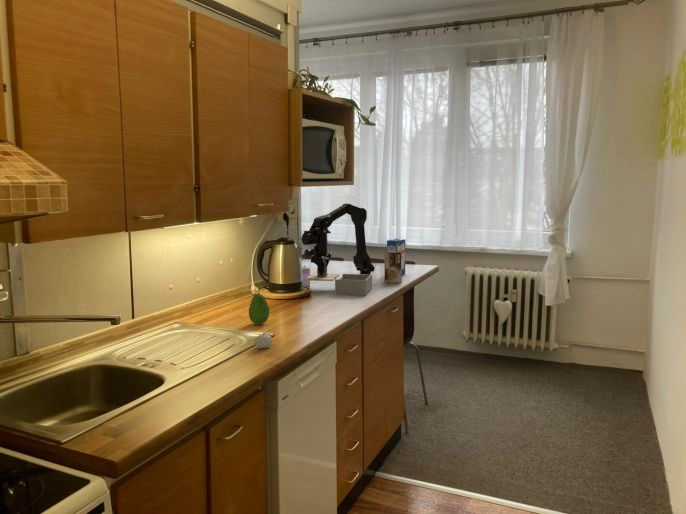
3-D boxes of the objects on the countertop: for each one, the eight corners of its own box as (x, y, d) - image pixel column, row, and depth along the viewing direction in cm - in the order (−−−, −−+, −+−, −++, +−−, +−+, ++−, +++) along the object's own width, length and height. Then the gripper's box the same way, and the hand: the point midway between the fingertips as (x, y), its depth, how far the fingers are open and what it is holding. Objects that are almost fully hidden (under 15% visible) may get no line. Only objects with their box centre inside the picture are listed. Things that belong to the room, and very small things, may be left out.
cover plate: (312, 275, 285) (312, 265, 284) (339, 275, 281) (339, 265, 281) (304, 280, 271) (304, 269, 270) (332, 281, 268) (332, 270, 267)
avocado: (250, 327, 210) (249, 296, 209) (248, 322, 218) (246, 292, 216) (271, 326, 213) (270, 295, 211) (268, 321, 220) (267, 291, 218)
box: (342, 287, 283) (342, 273, 282) (372, 288, 280) (372, 274, 278) (335, 294, 268) (334, 279, 266) (366, 295, 264) (365, 280, 263)
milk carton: (396, 273, 323) (395, 238, 320) (405, 274, 320) (405, 239, 317) (387, 275, 315) (386, 240, 312) (396, 276, 312) (396, 241, 309)
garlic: (267, 344, 190) (266, 329, 189) (275, 347, 186) (275, 332, 185) (251, 347, 186) (250, 332, 185) (259, 351, 182) (259, 336, 181)
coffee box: (401, 280, 301) (401, 250, 298) (401, 282, 294) (401, 252, 292) (384, 280, 302) (384, 250, 299) (384, 282, 295) (384, 252, 293)
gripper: (311, 240, 285) (311, 270, 287) (300, 245, 267) (300, 277, 269) (332, 240, 282) (332, 271, 284) (322, 245, 264) (323, 278, 266)
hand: (322, 274), depth 276 cm, fingers closed on cover plate, 4 cm apart
